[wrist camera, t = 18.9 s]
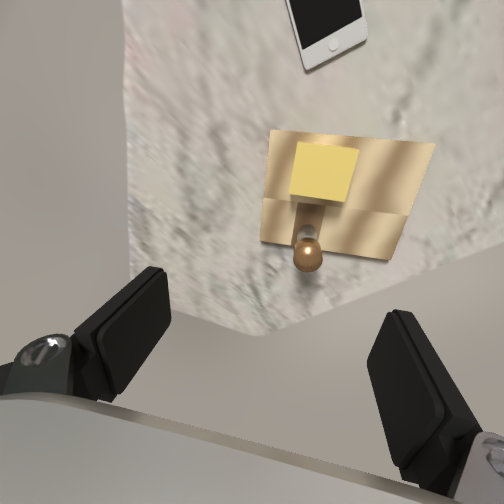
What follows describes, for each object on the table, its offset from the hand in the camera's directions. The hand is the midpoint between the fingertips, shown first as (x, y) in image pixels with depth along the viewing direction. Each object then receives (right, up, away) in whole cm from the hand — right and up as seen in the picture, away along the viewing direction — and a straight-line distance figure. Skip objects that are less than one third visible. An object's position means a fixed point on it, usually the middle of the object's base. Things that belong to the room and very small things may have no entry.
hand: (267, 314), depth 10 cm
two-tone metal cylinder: (+8, +6, +26) cm, 28 cm away
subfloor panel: (+11, +11, +25) cm, 29 cm away
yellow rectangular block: (+8, +14, +22) cm, 27 cm away
